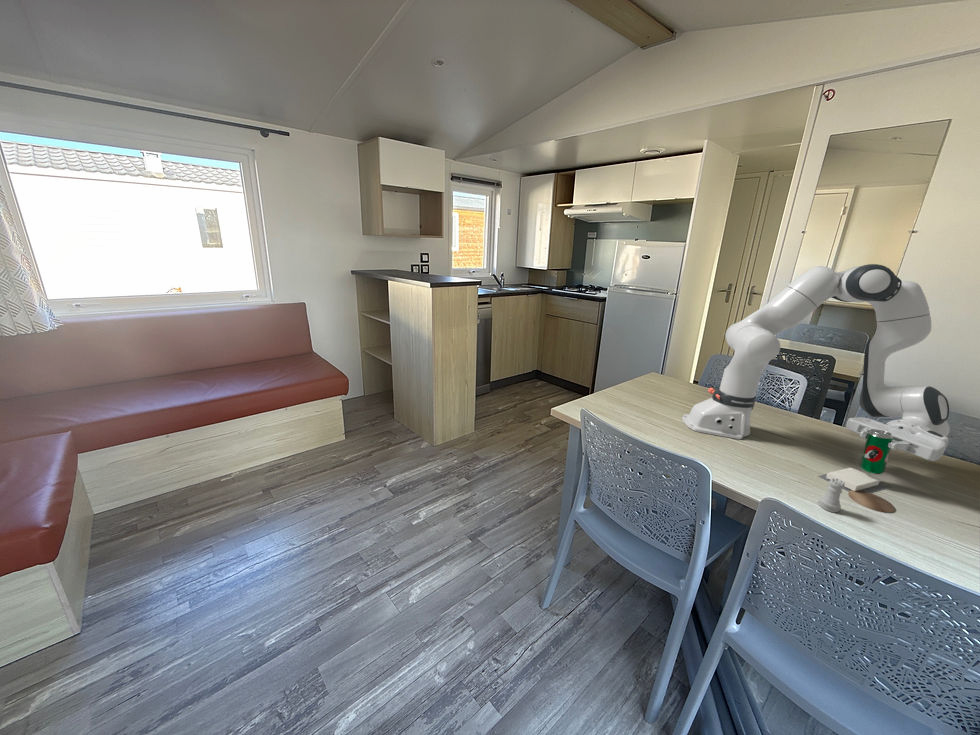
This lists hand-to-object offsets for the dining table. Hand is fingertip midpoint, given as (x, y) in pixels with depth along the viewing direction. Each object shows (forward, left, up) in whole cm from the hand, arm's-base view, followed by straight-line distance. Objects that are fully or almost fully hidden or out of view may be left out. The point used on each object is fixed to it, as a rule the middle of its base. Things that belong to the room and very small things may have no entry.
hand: (876, 440), depth 108 cm
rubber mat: (-3, -2, -13) cm, 14 cm away
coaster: (-5, -12, -13) cm, 18 cm away
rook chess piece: (-18, -17, -14) cm, 28 cm away
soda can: (+1, 0, -10) cm, 10 cm away
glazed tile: (+1, 0, -12) cm, 12 cm away
